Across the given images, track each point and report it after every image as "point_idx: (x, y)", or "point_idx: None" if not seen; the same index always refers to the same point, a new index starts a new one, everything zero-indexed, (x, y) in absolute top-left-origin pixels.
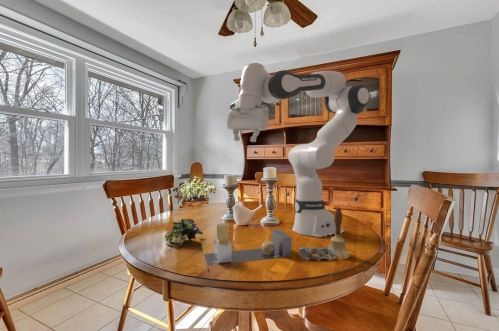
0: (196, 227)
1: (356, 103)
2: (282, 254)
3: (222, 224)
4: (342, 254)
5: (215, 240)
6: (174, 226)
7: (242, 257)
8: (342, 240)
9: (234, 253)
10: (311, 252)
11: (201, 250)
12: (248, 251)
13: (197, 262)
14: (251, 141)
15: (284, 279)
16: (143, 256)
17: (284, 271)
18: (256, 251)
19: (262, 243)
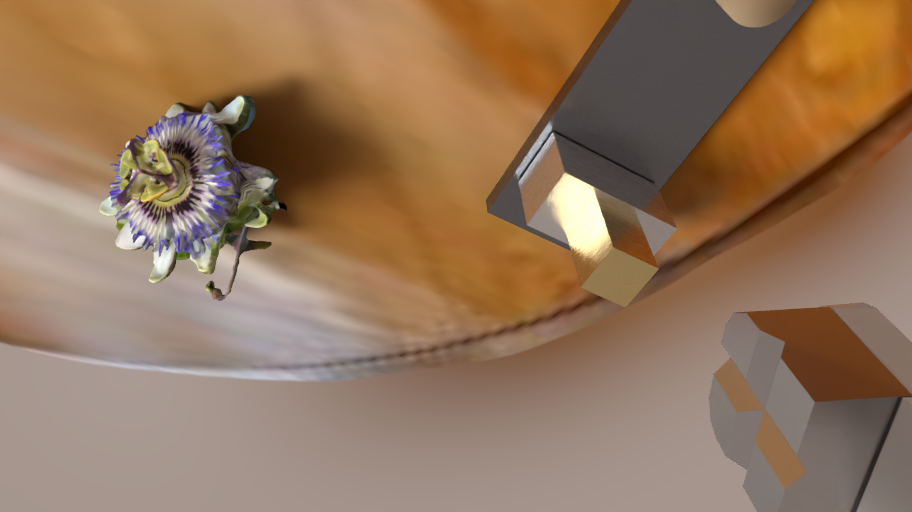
0: (228, 152)
1: None
2: None
3: (614, 276)
4: None
5: (566, 243)
6: (141, 243)
7: (662, 116)
8: None
9: (595, 111)
10: None
11: (384, 155)
12: (637, 39)
13: (496, 238)
14: (728, 374)
15: (902, 95)
16: (281, 348)
17: (878, 36)
18: (674, 6)
19: (729, 11)
